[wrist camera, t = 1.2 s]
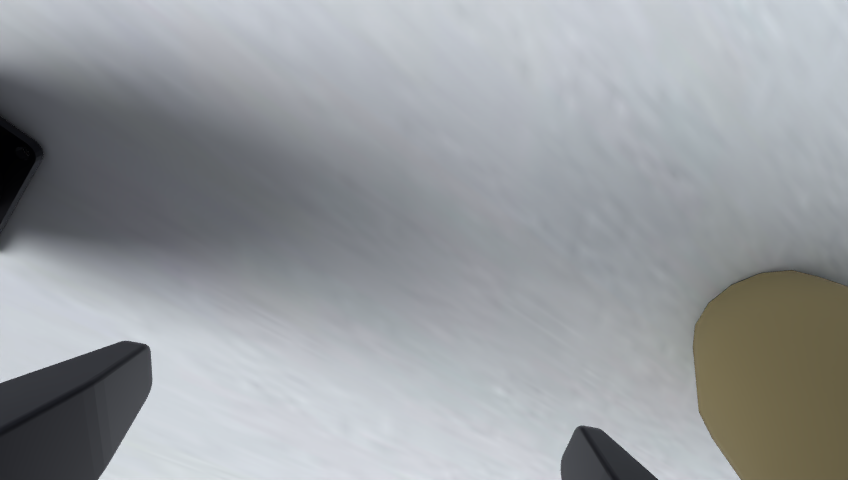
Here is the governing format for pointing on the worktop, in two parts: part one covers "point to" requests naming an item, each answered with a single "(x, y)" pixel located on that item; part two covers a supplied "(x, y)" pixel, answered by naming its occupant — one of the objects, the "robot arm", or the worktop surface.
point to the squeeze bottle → (776, 376)
